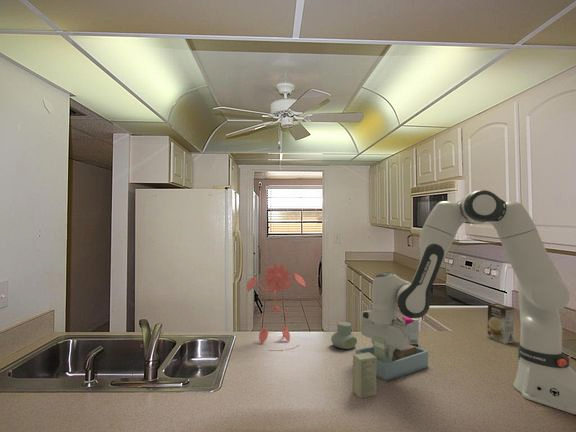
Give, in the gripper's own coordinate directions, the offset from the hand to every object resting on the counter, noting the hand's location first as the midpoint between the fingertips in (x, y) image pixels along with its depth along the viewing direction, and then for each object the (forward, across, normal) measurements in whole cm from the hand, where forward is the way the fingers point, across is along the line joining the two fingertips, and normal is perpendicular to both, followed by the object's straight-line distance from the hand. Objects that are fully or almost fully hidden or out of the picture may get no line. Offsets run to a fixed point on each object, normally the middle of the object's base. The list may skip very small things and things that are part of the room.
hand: (383, 354), depth 127 cm
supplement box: (+6, +12, -32) cm, 35 cm away
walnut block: (+5, 0, -11) cm, 12 cm away
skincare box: (+6, -9, +19) cm, 22 cm away
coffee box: (+6, -7, -73) cm, 73 cm away
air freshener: (+6, +24, -3) cm, 25 cm away
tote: (+6, 0, -5) cm, 7 cm away
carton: (+4, 0, 0) cm, 4 cm away
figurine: (+6, +41, +21) cm, 47 cm away
